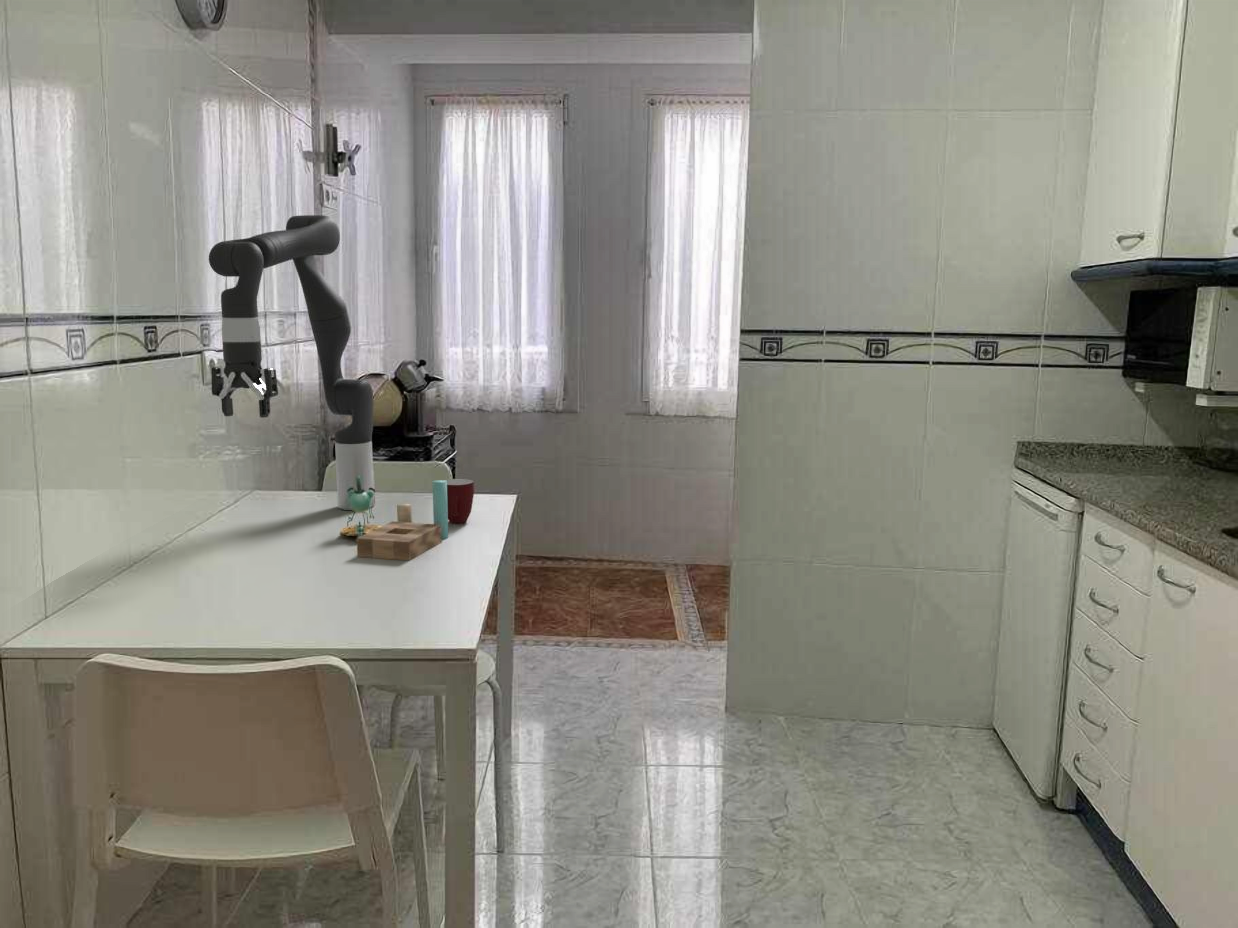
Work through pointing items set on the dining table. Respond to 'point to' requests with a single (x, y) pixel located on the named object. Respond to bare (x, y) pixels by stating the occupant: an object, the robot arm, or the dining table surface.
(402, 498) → the dining table surface
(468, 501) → the mug
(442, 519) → the long pin
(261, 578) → the dining table surface
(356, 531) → the teal creature figurine
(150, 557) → the dining table surface
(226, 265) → the robot arm
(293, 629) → the dining table surface
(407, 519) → the short pin
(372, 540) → the hole block
